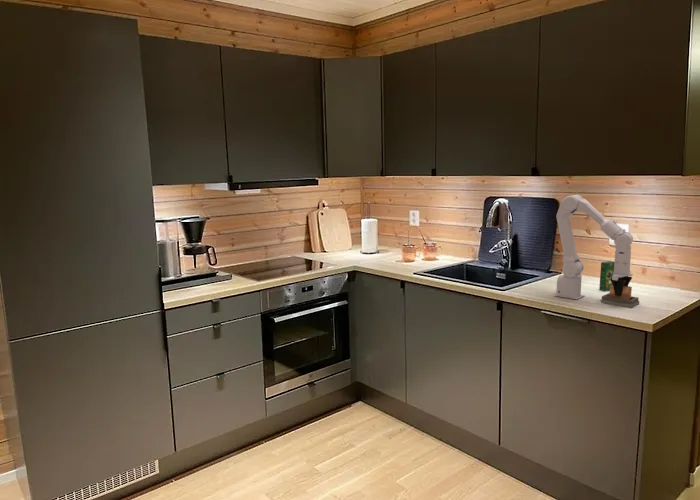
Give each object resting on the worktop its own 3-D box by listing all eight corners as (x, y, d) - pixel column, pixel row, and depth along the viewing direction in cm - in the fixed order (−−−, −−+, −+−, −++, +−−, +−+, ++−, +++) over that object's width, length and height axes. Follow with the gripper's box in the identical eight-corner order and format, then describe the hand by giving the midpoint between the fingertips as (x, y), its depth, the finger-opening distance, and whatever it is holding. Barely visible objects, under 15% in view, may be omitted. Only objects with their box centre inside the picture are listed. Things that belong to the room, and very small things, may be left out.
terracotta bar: (627, 300, 214) (628, 288, 213) (609, 297, 219) (610, 285, 218) (630, 298, 217) (631, 286, 216) (613, 295, 222) (613, 284, 221)
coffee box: (608, 287, 245) (610, 260, 243) (614, 289, 242) (616, 260, 240) (598, 290, 240) (600, 262, 238) (604, 291, 238) (606, 263, 236)
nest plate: (600, 302, 219) (600, 296, 219) (608, 298, 225) (609, 292, 225) (631, 308, 211) (631, 301, 210) (639, 303, 217) (639, 297, 216)
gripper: (626, 266, 208) (623, 299, 210) (639, 260, 217) (637, 293, 220) (607, 263, 213) (605, 296, 215) (621, 259, 222) (619, 290, 225)
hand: (620, 294), depth 218 cm, fingers closed on terracotta bar, 4 cm apart
